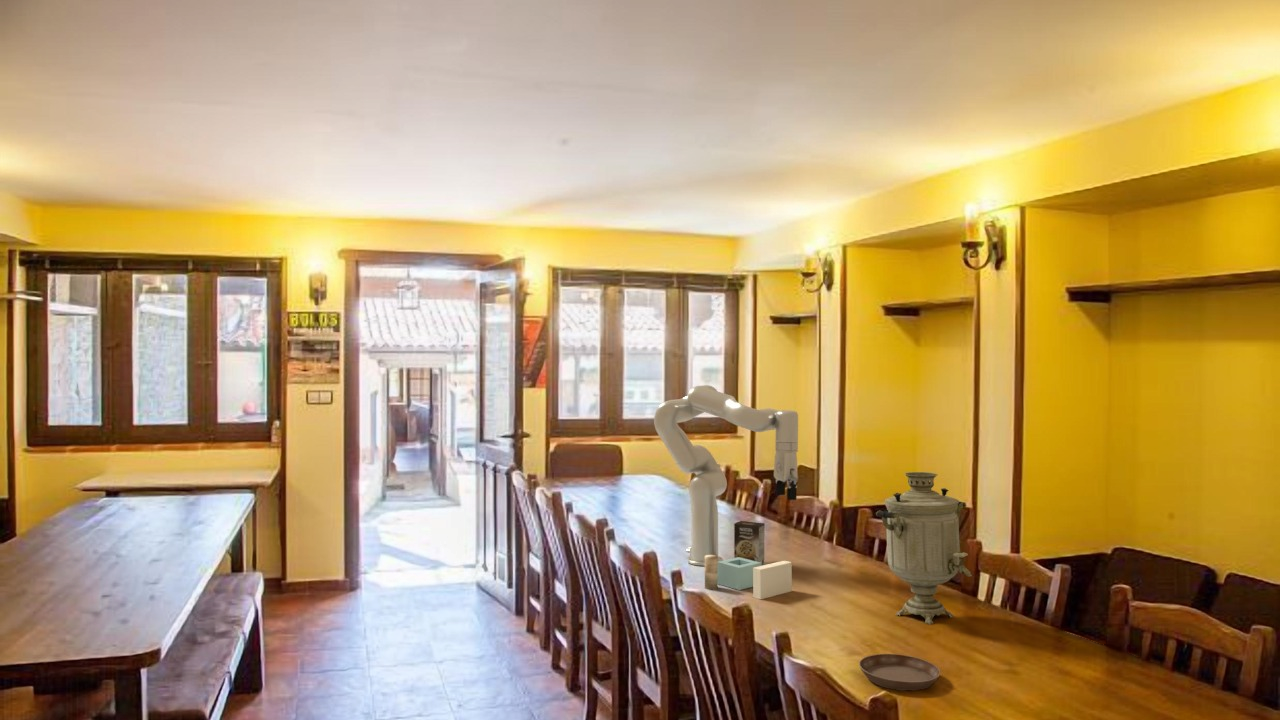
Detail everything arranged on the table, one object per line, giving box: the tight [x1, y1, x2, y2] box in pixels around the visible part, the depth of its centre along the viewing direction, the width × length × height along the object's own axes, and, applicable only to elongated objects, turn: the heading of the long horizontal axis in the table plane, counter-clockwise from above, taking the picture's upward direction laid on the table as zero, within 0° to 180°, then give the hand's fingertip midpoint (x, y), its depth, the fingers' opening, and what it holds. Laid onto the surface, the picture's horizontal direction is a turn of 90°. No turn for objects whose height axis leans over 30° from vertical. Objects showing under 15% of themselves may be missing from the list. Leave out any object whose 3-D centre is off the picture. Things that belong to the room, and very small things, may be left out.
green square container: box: [717, 557, 761, 591], centre depth 278 cm, size 10×10×7 cm
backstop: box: [752, 560, 793, 600], centre depth 267 cm, size 3×14×9 cm, turn 129°
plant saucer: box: [858, 653, 941, 691], centre depth 197 cm, size 18×18×3 cm
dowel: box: [704, 555, 718, 591], centre depth 274 cm, size 4×4×10 cm
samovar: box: [875, 471, 972, 625], centre depth 241 cm, size 30×26×40 cm
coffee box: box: [733, 520, 766, 566], centre depth 297 cm, size 9×6×16 cm
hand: (785, 497), depth 294 cm, fingers open, 9 cm apart
